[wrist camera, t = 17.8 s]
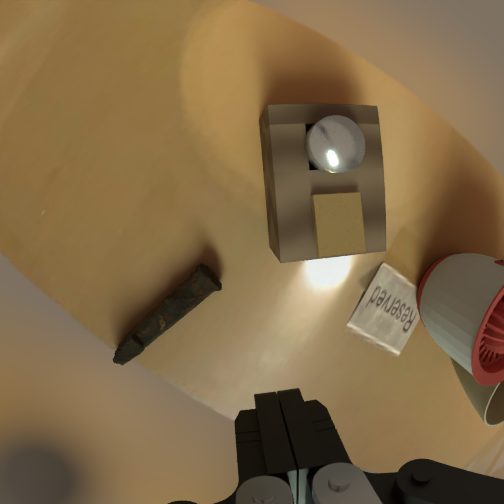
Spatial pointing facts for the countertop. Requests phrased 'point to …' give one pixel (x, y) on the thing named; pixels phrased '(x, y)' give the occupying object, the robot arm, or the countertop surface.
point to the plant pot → (483, 396)
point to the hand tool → (168, 313)
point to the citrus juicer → (467, 312)
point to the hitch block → (317, 178)
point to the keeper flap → (338, 224)
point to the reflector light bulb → (334, 144)
